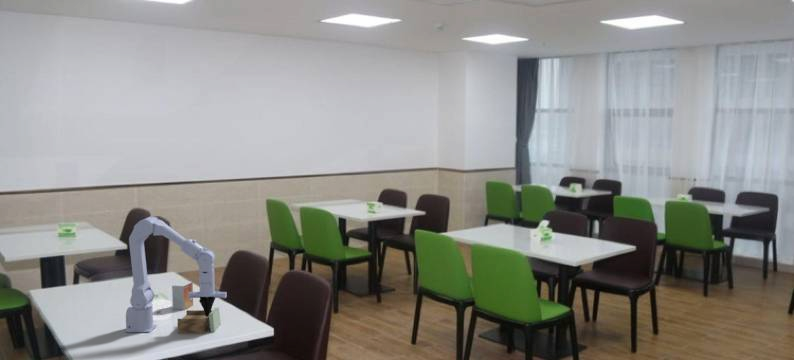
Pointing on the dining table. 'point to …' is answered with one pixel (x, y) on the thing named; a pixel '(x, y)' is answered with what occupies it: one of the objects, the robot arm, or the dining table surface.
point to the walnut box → (194, 322)
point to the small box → (182, 295)
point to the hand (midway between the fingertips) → (208, 315)
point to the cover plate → (214, 319)
